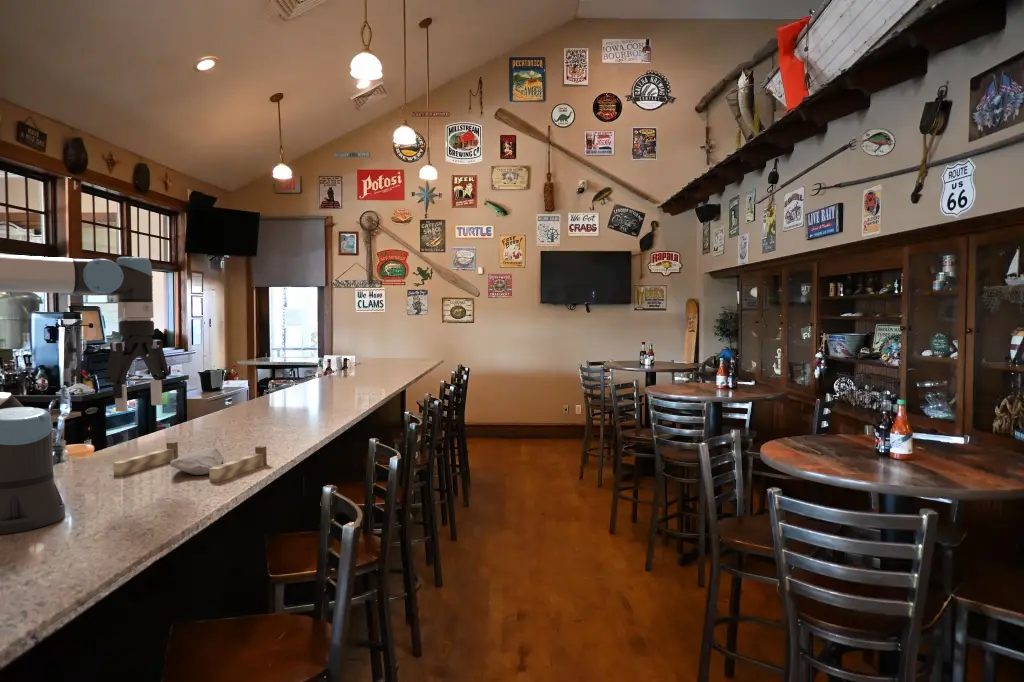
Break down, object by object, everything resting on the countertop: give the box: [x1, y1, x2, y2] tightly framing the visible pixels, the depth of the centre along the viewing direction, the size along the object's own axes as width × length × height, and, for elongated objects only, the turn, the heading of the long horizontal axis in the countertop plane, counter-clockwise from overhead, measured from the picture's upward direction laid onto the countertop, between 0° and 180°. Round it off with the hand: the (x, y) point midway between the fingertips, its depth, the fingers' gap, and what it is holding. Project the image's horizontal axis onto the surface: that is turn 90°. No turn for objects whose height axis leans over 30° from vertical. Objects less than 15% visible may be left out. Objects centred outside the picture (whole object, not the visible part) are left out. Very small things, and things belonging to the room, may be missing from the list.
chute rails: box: [112, 441, 268, 483], centre depth 173 cm, size 20×33×5 cm, turn 76°
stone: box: [169, 447, 225, 476], centre depth 176 cm, size 12×5×25 cm
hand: (139, 408), depth 156 cm, fingers open, 10 cm apart
